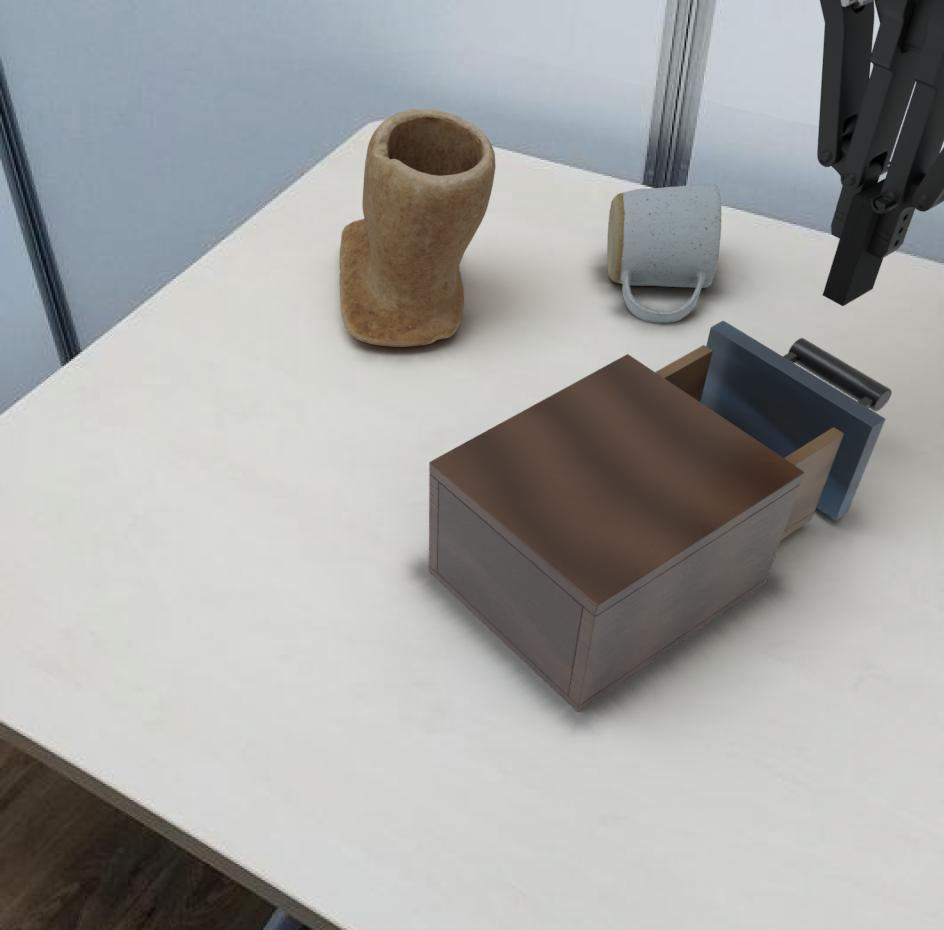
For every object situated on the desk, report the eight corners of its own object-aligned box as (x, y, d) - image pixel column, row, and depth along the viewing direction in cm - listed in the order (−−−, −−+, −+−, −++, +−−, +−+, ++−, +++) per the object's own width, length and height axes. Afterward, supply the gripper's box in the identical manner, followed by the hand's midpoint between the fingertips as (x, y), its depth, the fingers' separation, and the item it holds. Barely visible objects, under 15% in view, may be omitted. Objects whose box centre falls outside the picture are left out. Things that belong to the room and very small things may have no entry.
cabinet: (608, 468, 78) (627, 353, 70) (764, 587, 70) (805, 472, 63) (428, 574, 72) (428, 461, 65) (577, 715, 65) (597, 605, 57)
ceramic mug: (601, 251, 95) (612, 165, 89) (700, 251, 94) (719, 165, 88) (608, 329, 88) (621, 243, 82) (715, 330, 87) (736, 243, 81)
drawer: (755, 381, 81) (781, 287, 75) (903, 475, 75) (945, 380, 69) (545, 504, 75) (556, 412, 69) (687, 620, 68) (713, 529, 62)
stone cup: (491, 356, 86) (502, 173, 75) (337, 360, 87) (324, 180, 76) (480, 245, 96) (488, 69, 85) (341, 250, 97) (331, 76, 86)
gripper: (818, -177, 52) (720, 268, 70) (1085, -106, 45) (899, 370, 63) (923, -215, 54) (802, 224, 72) (1191, -154, 47) (983, 317, 65)
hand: (847, 291), depth 67 cm, fingers closed
